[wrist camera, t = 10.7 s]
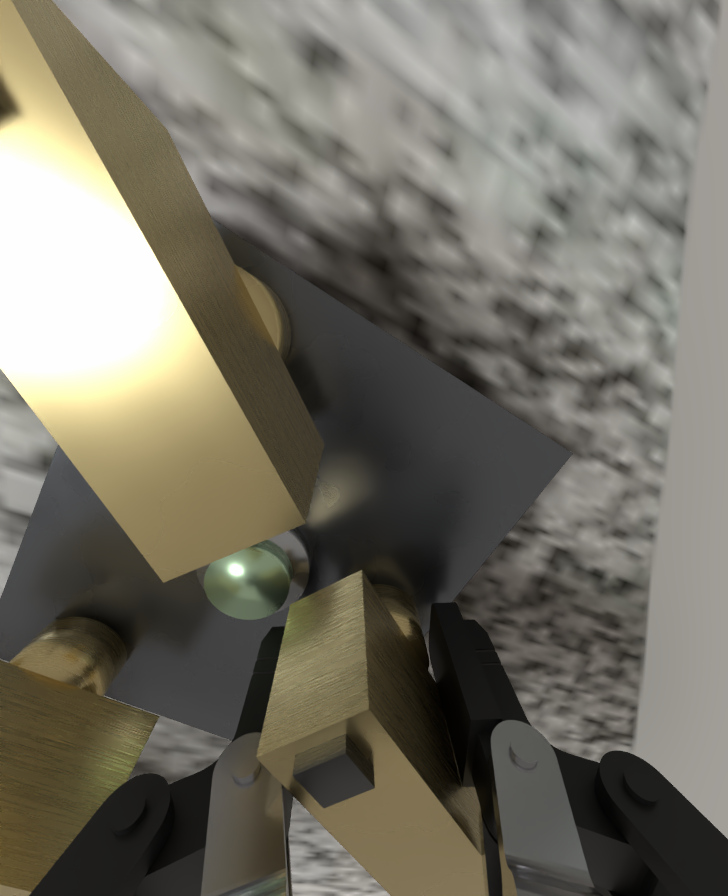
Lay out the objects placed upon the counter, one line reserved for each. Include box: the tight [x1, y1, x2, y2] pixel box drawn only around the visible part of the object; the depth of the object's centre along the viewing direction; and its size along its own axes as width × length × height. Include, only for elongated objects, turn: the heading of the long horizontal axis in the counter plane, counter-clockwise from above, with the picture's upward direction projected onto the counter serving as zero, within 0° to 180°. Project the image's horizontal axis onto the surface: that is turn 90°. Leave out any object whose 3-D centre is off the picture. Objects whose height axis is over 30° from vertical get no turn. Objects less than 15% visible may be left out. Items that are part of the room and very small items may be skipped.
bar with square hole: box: [256, 570, 485, 896], centre depth 9 cm, size 6×3×6 cm, turn 28°
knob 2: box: [0, 0, 324, 583], centre depth 6 cm, size 6×3×6 cm, turn 24°
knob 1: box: [0, 617, 159, 896], centre depth 9 cm, size 6×3×6 cm, turn 59°
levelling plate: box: [0, 219, 573, 740], centre depth 12 cm, size 16×13×3 cm
